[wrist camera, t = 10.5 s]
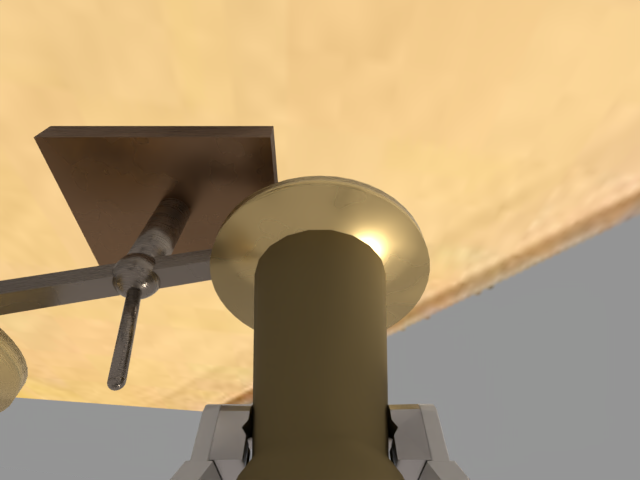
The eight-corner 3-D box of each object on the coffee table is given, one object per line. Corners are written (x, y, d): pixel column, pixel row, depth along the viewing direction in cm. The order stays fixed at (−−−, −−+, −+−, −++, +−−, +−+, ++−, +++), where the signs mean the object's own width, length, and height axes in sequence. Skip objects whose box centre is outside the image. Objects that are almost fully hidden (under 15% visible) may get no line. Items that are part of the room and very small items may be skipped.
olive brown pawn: (404, 300, 18) (483, 632, 9) (295, 335, 19) (276, 642, 11) (353, 207, 14) (403, 594, 6) (227, 260, 16) (122, 618, 8)
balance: (414, 116, 19) (510, 289, 10) (391, 258, 26) (435, 449, 16) (-96, 116, 19) (-519, 289, 10) (5, 258, 26) (-189, 450, 16)
